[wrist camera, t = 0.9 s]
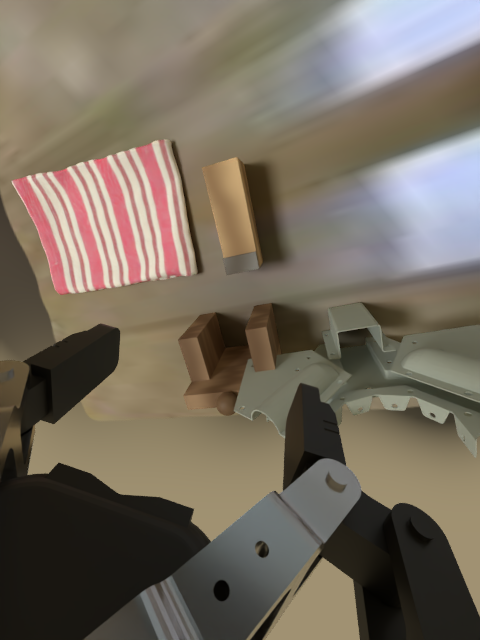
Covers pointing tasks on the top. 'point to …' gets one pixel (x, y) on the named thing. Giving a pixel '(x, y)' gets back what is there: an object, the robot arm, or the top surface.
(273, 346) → the wooden block holder
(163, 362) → the top surface
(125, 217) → the dish towel
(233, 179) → the tan rectangular block
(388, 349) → the bracket
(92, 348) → the robot arm
